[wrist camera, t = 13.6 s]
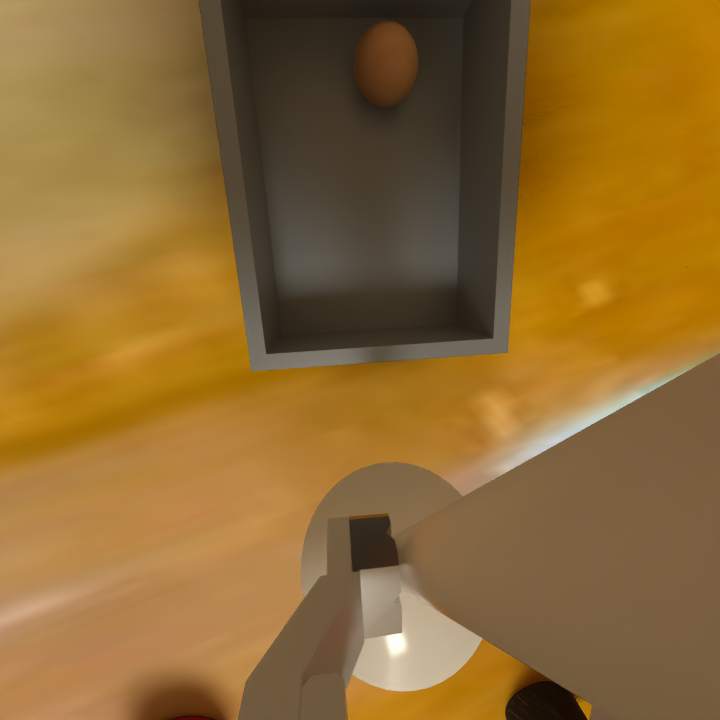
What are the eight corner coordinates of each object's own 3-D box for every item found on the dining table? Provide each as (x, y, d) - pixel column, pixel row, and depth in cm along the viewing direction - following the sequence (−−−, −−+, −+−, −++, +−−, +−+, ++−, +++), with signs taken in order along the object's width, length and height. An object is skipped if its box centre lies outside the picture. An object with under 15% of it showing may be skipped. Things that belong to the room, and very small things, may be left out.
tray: (272, 345, 22) (251, 371, 16) (231, 11, 17) (181, -121, 12) (463, 332, 23) (507, 352, 17) (472, 10, 18) (537, -112, 12)
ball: (350, 72, 15) (335, 38, 16) (378, 132, 18) (364, 99, 19) (414, 21, 14) (393, -11, 15) (434, 93, 17) (415, 61, 18)
